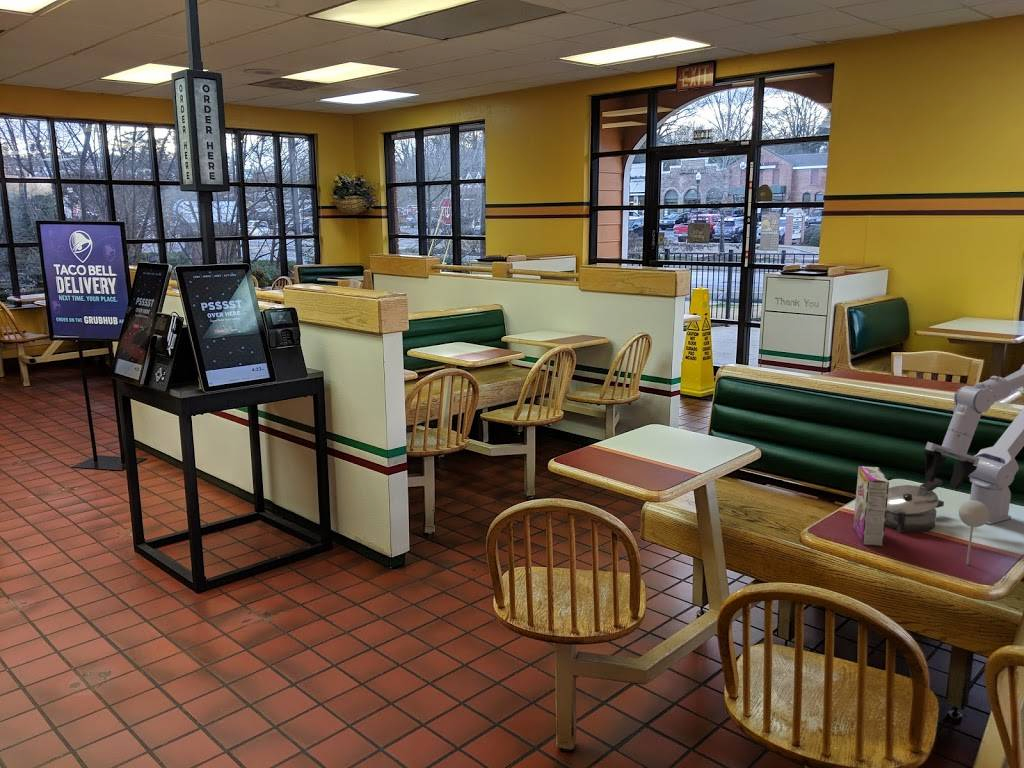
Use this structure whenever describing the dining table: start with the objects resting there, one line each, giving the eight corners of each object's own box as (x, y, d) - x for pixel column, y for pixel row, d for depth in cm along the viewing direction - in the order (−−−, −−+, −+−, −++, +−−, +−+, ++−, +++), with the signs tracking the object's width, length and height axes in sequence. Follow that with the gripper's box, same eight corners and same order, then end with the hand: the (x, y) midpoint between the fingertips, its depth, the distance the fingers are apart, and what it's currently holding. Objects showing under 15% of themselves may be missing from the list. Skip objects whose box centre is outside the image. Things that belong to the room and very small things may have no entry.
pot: (915, 506, 216) (917, 488, 215) (961, 522, 205) (963, 503, 204) (864, 518, 207) (866, 500, 206) (909, 536, 196) (911, 517, 195)
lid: (914, 475, 214) (914, 470, 214) (963, 490, 202) (962, 485, 202) (867, 503, 207) (866, 498, 207) (914, 521, 195) (913, 515, 195)
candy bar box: (851, 527, 202) (857, 465, 198) (872, 529, 201) (879, 466, 197) (861, 545, 191) (867, 479, 187) (883, 547, 190) (890, 481, 186)
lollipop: (958, 556, 185) (966, 494, 182) (986, 564, 180) (995, 501, 177) (947, 563, 181) (955, 500, 178) (976, 572, 176) (984, 508, 173)
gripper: (948, 428, 194) (928, 481, 195) (995, 444, 197) (976, 496, 198) (927, 423, 200) (909, 474, 202) (973, 438, 204) (955, 488, 205)
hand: (940, 484), depth 200 cm, fingers open, 7 cm apart
